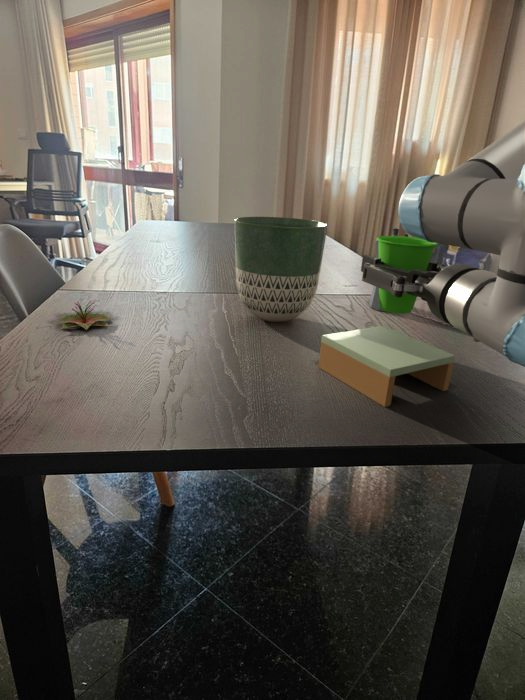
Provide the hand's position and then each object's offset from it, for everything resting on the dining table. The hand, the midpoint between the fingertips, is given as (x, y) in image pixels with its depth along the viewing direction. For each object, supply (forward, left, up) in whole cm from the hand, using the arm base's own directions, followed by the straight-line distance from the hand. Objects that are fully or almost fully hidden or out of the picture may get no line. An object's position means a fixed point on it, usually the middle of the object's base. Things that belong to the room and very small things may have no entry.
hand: (389, 263), depth 77 cm
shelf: (-5, +3, -18) cm, 19 cm away
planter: (+30, +2, -18) cm, 35 cm away
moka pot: (+28, -31, -18) cm, 45 cm away
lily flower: (+41, +41, -18) cm, 61 cm away
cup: (-4, +2, -7) cm, 8 cm away
